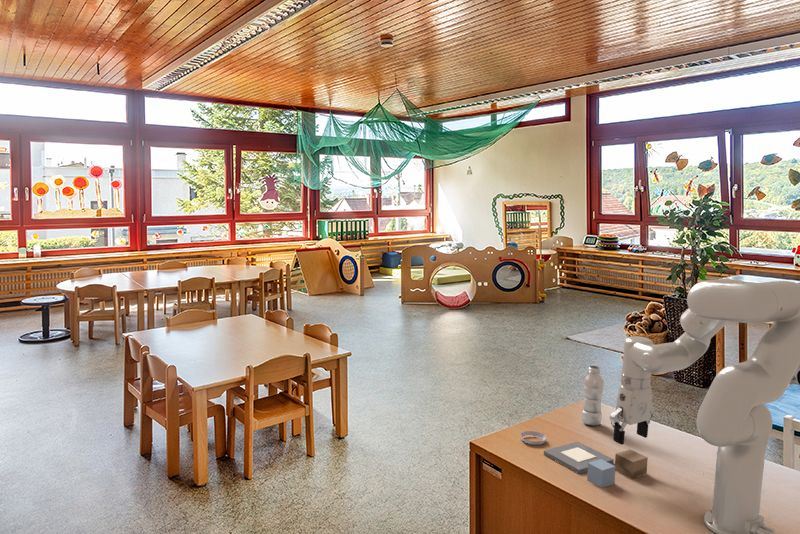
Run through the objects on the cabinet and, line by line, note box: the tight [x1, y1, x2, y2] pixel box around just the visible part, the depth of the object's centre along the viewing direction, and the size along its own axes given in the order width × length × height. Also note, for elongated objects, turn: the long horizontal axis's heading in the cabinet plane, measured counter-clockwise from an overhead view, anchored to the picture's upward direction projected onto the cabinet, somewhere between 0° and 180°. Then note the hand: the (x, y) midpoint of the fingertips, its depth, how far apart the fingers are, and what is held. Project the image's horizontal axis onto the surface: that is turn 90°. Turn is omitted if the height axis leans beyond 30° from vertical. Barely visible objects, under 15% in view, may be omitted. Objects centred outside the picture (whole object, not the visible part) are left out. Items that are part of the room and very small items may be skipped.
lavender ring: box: [520, 430, 547, 446], centre depth 187 cm, size 8×8×2 cm
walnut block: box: [614, 448, 649, 479], centre depth 166 cm, size 6×6×5 cm
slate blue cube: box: [586, 459, 616, 489], centre depth 160 cm, size 5×5×5 cm
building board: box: [543, 441, 615, 475], centre depth 174 cm, size 14×14×1 cm
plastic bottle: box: [580, 365, 605, 426], centre depth 199 cm, size 6×7×20 cm
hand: (630, 439), depth 166 cm, fingers open, 9 cm apart
